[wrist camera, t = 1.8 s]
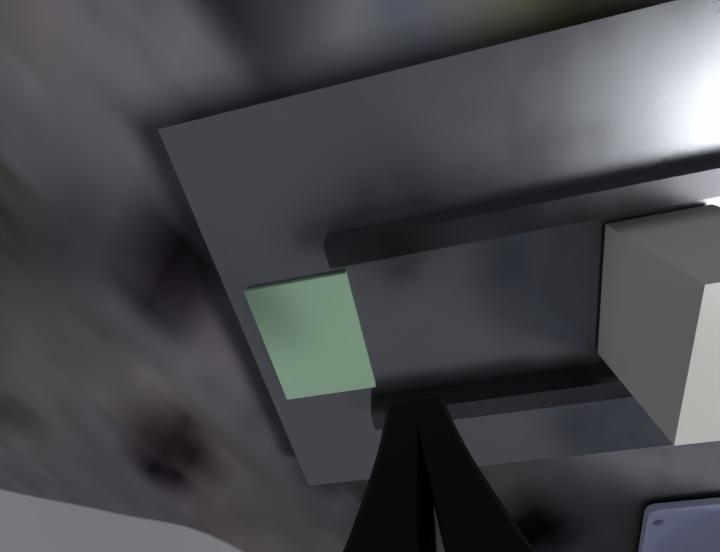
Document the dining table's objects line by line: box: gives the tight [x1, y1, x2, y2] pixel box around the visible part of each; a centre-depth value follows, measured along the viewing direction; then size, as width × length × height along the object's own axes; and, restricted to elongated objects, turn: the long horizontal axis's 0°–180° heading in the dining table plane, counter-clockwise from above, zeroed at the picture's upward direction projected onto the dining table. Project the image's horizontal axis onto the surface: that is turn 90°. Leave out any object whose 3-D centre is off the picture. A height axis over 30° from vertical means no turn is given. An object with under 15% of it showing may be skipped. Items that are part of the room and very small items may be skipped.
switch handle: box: [598, 204, 720, 446], centre depth 11 cm, size 5×3×4 cm, turn 13°
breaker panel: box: [158, 0, 720, 486], centre depth 13 cm, size 16×28×2 cm, turn 103°
